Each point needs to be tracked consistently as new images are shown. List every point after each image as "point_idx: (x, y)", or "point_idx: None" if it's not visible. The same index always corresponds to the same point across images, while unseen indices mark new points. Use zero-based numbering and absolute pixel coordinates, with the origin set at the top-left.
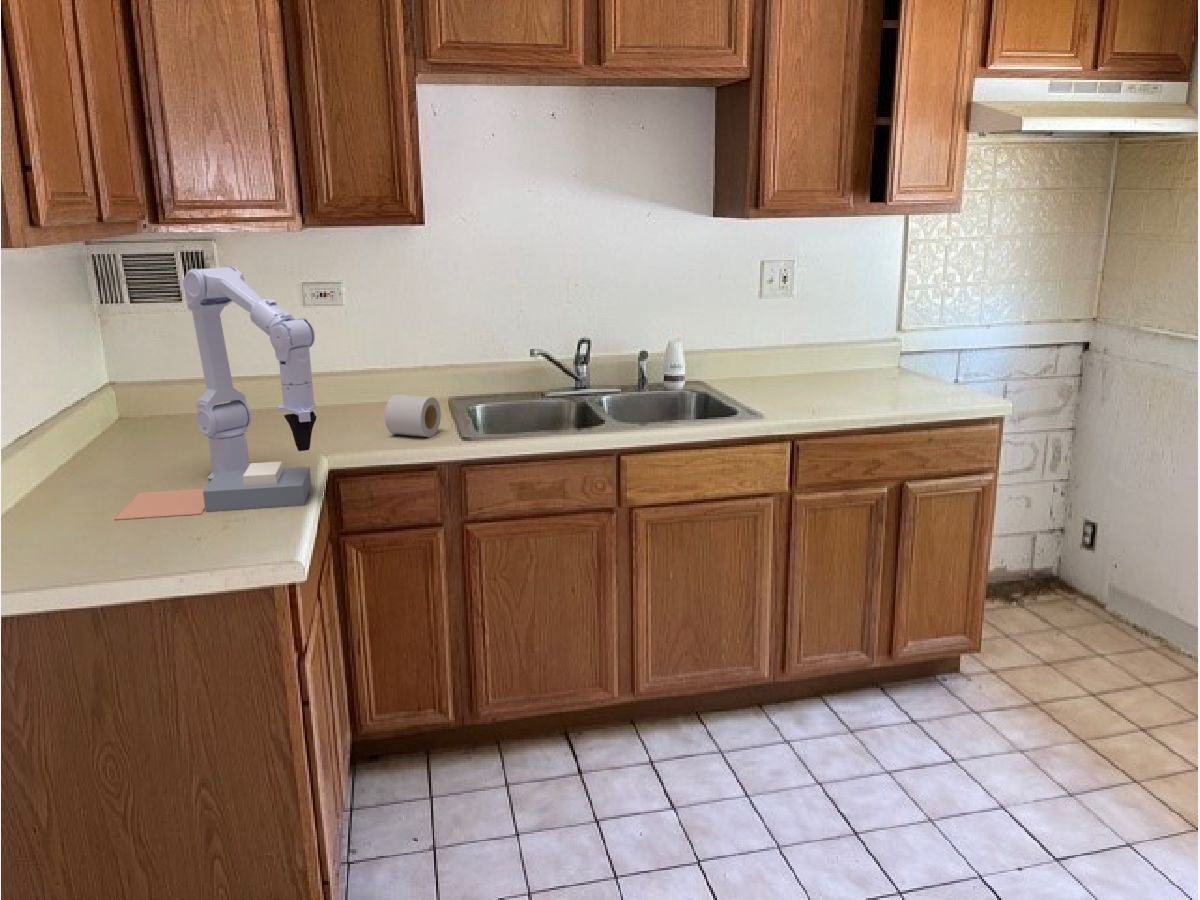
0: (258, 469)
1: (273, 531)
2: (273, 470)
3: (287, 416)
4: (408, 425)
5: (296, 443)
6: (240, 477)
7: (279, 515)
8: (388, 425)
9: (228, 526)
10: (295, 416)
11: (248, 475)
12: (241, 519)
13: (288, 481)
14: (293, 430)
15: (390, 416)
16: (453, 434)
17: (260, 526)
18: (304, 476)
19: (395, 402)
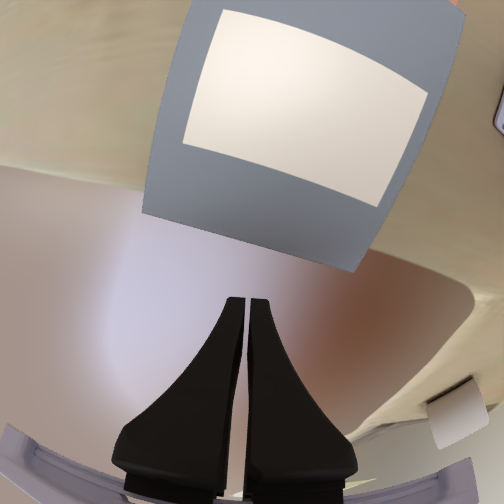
0: (307, 86)
1: (25, 113)
2: (250, 143)
3: (213, 483)
4: (446, 407)
5: (216, 323)
6: (367, 34)
7: (107, 119)
8: (474, 388)
9: (85, 8)
10: (189, 486)
11: (222, 31)
12: (117, 27)
13: (208, 179)
14: (169, 388)
15: (474, 402)
16: (412, 417)
17: (55, 80)
18: (245, 238)
19: (476, 421)
